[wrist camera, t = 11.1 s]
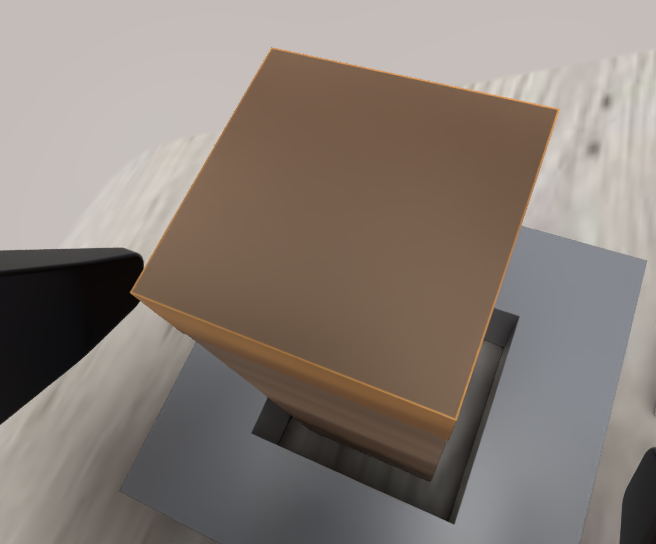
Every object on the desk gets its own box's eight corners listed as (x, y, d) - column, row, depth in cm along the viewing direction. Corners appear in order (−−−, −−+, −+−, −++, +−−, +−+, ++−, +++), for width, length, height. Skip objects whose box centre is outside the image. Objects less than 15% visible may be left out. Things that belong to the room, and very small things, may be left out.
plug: (431, 483, 16) (456, 421, 5) (309, 430, 17) (130, 292, 7) (472, 359, 18) (559, 108, 7) (356, 317, 19) (271, 47, 8)
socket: (516, 673, 14) (539, 712, 11) (166, 494, 17) (119, 490, 15) (611, 299, 18) (647, 260, 15) (306, 207, 21) (289, 161, 18)
